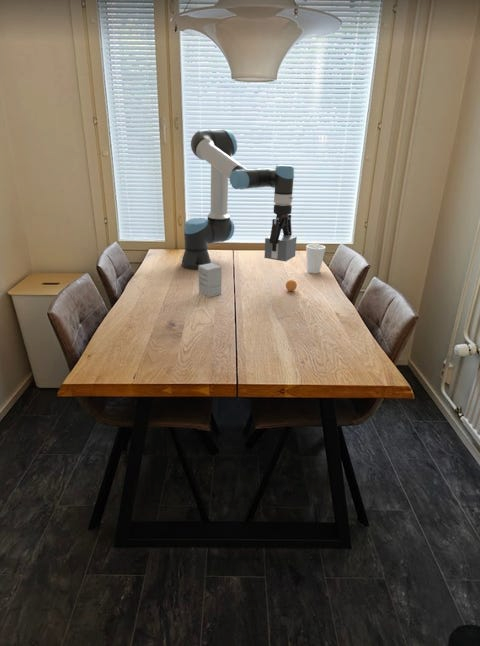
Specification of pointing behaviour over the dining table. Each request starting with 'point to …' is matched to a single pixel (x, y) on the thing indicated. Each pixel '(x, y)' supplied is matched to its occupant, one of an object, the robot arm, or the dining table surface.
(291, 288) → the orange egg
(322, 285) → the dining table surface
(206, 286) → the supplement box
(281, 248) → the grey square block
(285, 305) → the dining table surface
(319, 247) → the foam cup
